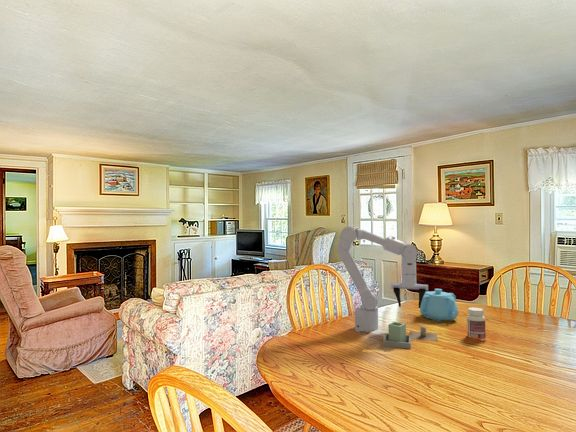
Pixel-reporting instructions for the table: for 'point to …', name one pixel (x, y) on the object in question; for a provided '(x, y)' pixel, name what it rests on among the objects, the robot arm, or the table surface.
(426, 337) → the pin block
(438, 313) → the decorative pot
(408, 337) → the grey tray
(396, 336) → the green sleeve
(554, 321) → the table surface
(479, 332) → the pill bottle
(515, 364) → the table surface
